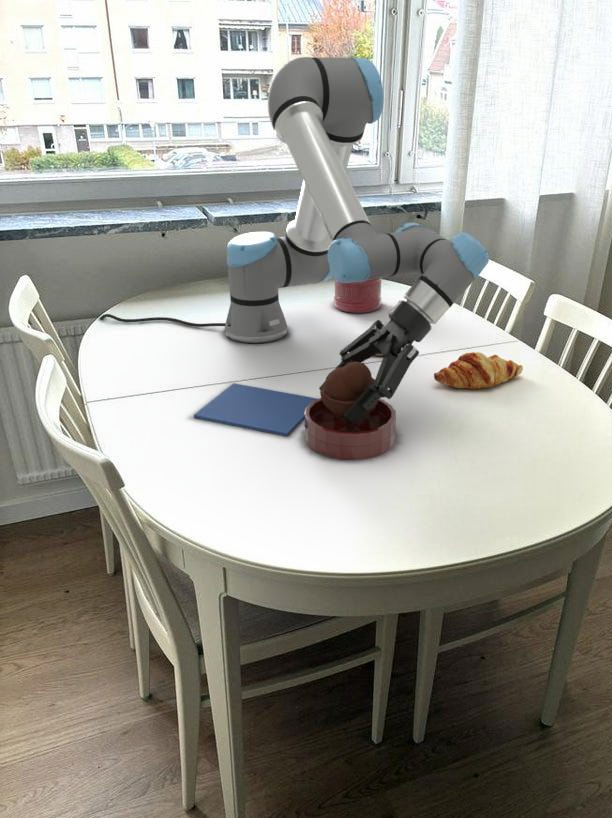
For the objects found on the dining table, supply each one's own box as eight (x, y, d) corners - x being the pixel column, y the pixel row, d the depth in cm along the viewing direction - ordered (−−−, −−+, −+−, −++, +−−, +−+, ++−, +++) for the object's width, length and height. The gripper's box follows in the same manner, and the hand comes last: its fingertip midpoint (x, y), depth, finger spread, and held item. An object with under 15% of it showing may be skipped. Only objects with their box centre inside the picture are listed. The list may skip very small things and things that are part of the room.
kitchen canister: (339, 296, 206) (339, 232, 197) (384, 300, 204) (387, 236, 195) (328, 311, 195) (328, 244, 186) (376, 315, 193) (378, 248, 184)
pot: (290, 449, 132) (289, 424, 129) (326, 411, 145) (325, 387, 142) (377, 467, 127) (378, 441, 124) (405, 426, 140) (407, 401, 137)
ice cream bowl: (380, 424, 140) (383, 350, 132) (375, 452, 131) (378, 375, 123) (326, 420, 141) (325, 347, 133) (317, 448, 131) (316, 372, 123)
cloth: (193, 417, 141) (193, 414, 141) (233, 385, 154) (233, 383, 154) (287, 436, 136) (287, 433, 135) (320, 401, 149) (320, 399, 148)
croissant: (511, 384, 165) (508, 349, 165) (536, 381, 156) (532, 343, 155) (427, 395, 159) (423, 358, 158) (447, 392, 149) (443, 353, 148)
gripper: (463, 348, 122) (376, 445, 124) (400, 305, 140) (326, 391, 143) (438, 321, 117) (348, 423, 120) (376, 280, 135) (299, 370, 138)
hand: (336, 406), depth 131 cm, fingers closed on ice cream bowl, 11 cm apart
